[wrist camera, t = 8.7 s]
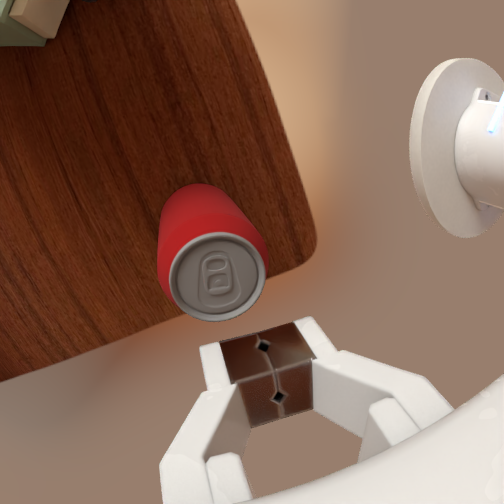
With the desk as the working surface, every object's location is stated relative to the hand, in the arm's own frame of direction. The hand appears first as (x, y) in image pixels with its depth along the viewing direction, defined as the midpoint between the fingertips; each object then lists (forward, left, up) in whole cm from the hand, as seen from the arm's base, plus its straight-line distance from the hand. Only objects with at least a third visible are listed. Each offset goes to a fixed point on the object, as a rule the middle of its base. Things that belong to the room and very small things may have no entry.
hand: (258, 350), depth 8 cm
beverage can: (0, +3, -21) cm, 21 cm away
